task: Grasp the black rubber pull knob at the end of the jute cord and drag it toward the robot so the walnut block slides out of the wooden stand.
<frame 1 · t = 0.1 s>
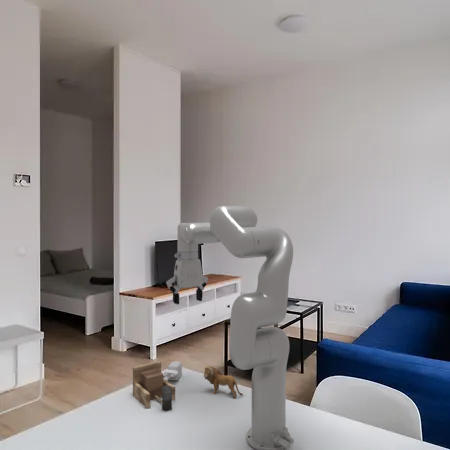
hand: (187, 302, 149), 31 cm above the table, fingers open, 9 cm apart
wooden stand: (153, 397, 140), on the table
power adapter: (172, 381, 154), on the table
block: (158, 389, 137), point 4 cm above the table, slide at 0.0 cm
lion figurine: (221, 394, 143), on the table
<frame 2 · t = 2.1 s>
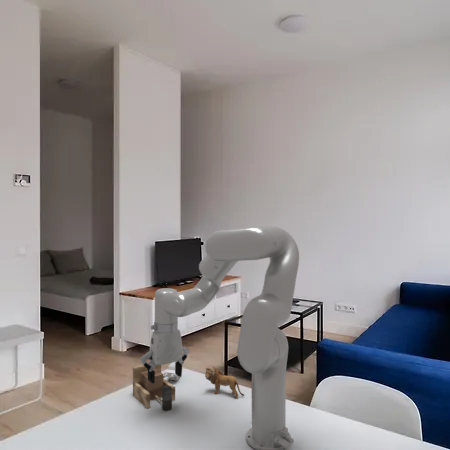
hand: (165, 378, 131), 10 cm above the table, fingers open, 9 cm apart
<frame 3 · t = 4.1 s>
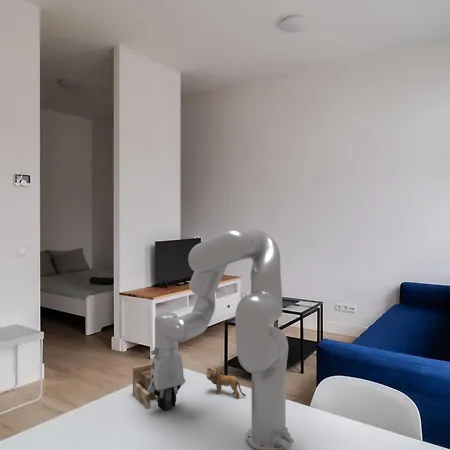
hand: (166, 406, 131), 1 cm above the table, fingers closed on block, 3 cm apart
block: (158, 389, 137), point 4 cm above the table, slide at 0.0 cm, touching gripper
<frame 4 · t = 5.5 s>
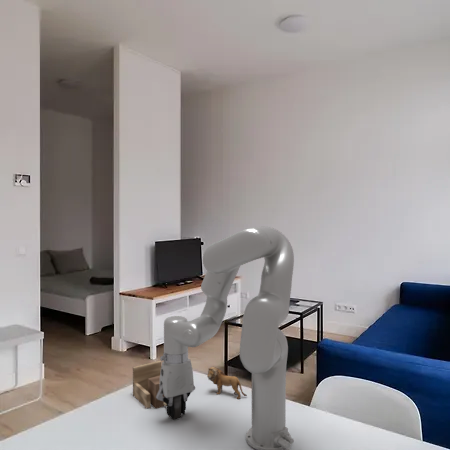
hand: (176, 414, 126), 1 cm above the table, fingers closed on block, 3 cm apart
block: (166, 396, 131), point 4 cm above the table, slide at 6.4 cm, touching gripper
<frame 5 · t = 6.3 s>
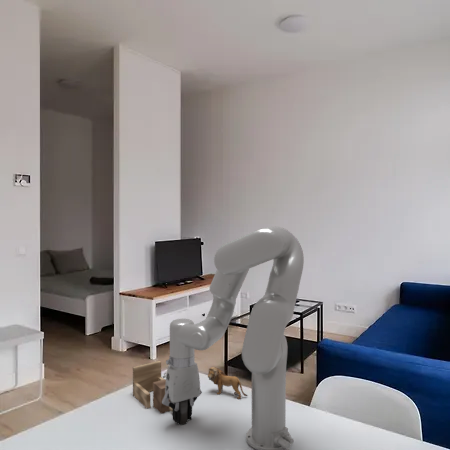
hand: (182, 419, 123), 1 cm above the table, fingers closed on block, 3 cm apart
block: (172, 401, 128), point 4 cm above the table, slide at 10.4 cm, touching gripper
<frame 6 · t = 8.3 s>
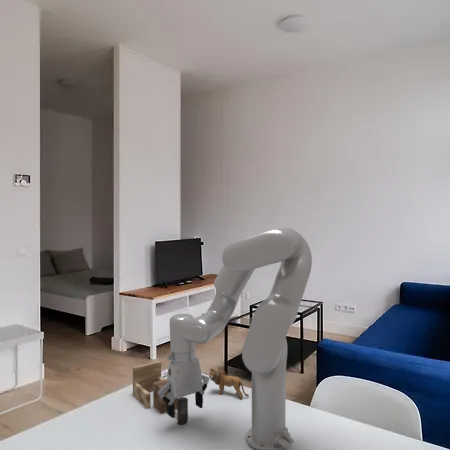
hand: (185, 411, 122), 4 cm above the table, fingers open, 9 cm apart
block: (172, 401, 128), point 4 cm above the table, slide at 10.5 cm
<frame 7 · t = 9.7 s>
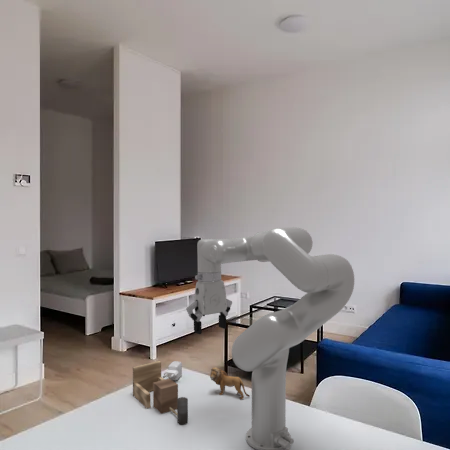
hand: (210, 330, 129), 26 cm above the table, fingers open, 9 cm apart
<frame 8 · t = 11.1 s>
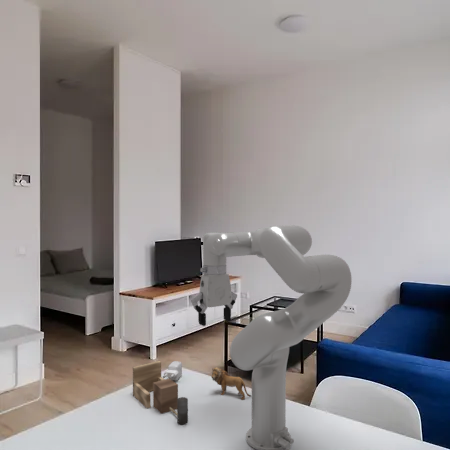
hand: (215, 322, 131), 28 cm above the table, fingers open, 9 cm apart
at the end: block slide at 10.5 cm; the gripper is holding nothing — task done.
